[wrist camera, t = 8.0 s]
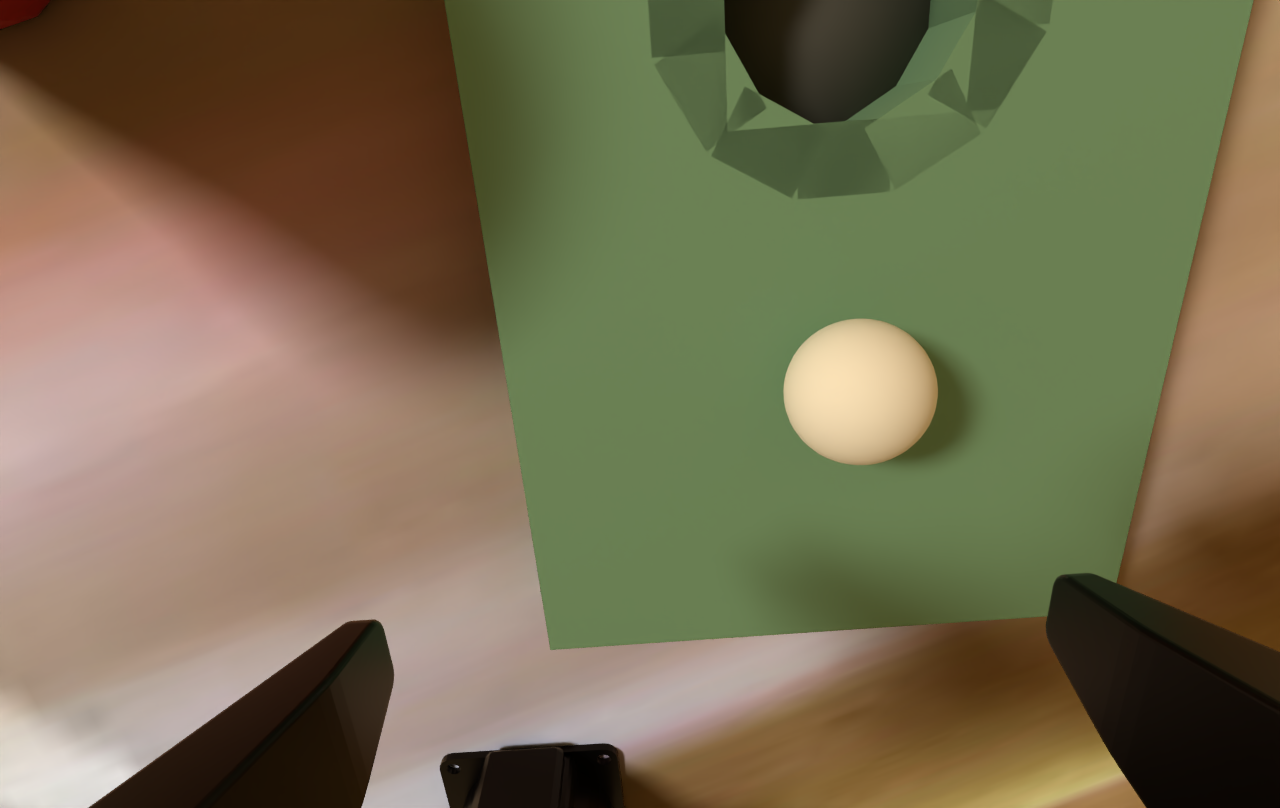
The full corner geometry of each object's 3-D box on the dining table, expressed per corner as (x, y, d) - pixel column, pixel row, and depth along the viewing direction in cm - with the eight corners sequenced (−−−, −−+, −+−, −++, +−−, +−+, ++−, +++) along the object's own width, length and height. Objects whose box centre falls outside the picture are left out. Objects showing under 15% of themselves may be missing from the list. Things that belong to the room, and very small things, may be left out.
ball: (898, 423, 17) (957, 486, 14) (770, 433, 17) (800, 497, 14) (908, 297, 15) (974, 336, 12) (770, 308, 15) (802, 349, 12)
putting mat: (1057, 559, 21) (1109, 612, 19) (559, 594, 22) (550, 649, 19) (1212, -251, 14) (1331, -330, 11) (442, -179, 14) (404, -241, 12)
